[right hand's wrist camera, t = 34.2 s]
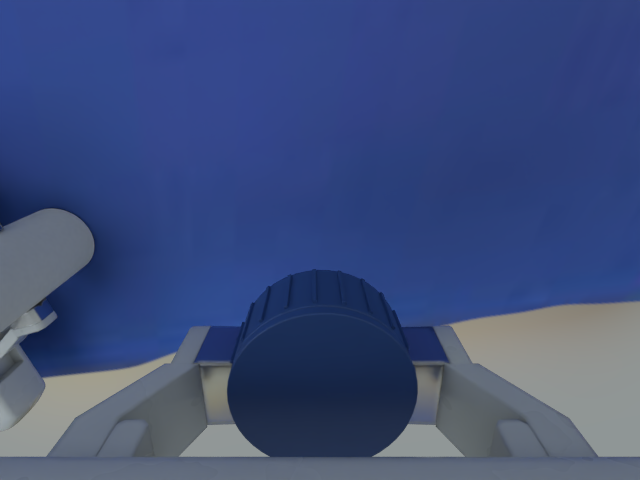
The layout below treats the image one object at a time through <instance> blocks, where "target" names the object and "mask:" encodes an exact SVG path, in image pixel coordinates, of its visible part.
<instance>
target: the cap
mask: <svg viewBox="0 0 640 480" xmlns="http://www.w3.org/2000/svg"><path fill="white" fill-rule="evenodd" d="M409 349H410V347H409V345H408V342H407V340H406V337H405V335H404V332H403V330H402V327H401V325H400V322H399V320H398V317H397V315H396V312H395V310H393V311H392V310H391V308H390V306H389V304H388V303H387V301H386V300H385V298H384V295H383V293H382V292H381V293H379V292H378V291H377V290H376V289H375V288H373V287H372V286H371V285H369V284H368V283H366V282H365V280H364V279H359V278H357V277H354V276H352V275H349V274H346V273H342V272H341V271H338V272H337V271H330V270H316V269H314V270H312V271H306V272H301V273H297V274H294V275H291V274H290V275H288V277H286V278H284V279H282V280H280V281H278V282H276V283H275V284H273V285H272V286H268V287H267V288H266V291H264V292H263V293H262V294H261V295H260V296H259V298H258V299H257V300H256V301H255V303H253V302H252V304H251V306H250V309H249V312H248V315H247V318H246V321H245V322H242V325H241V329H240V332H239V335H238V338H237V341H236V344H235V348H234V351H233V354H232V357H231V360H230V363H231V364H232V367H231V370H230V374H229V378H228V384H227V401H228V405H229V410H230V413H231V415H232V418H233V420H234V422H235V424H236V426H237V427H238V429H239V431H240V432H241V433H242V434H243V436H244V437H245V438H246V439H247V440H248V441H249V442H250V443H251V444H252V445H253V446H255V447H256V448H257V449H259V450H260V451H261V452H263V453H265V454H266V455H268V456H270V457H372V456H374V455H376V454H377V453H379V452H381V451H382V450H384V449H385V448H386V447H388V446H389V445H390V444H391V443H392V442H393V441H395V440H396V439H397V438H398V436H399V435H400V434H401V433H402V432H403V431H404V429H405V428H406V426H407V424H408V423H409V421H410V419H411V417H412V415H413V413H414V409H415V406H416V402H417V395H418V381H417V376H416V369H415V366H413V363H412V360H411V358H410V355H409V353H408V350H409Z"/></svg>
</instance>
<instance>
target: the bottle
mask: <svg viewBox="0 0 640 480" xmlns="http://www.w3.org/2000/svg"><path fill="white" fill-rule="evenodd" d="M3 228H4V229H3V230H1V231H0V333H1V332H2V331H3V330H4V329H6V328H7V327H8V326H9V325H11V324H12V323H13V322H14V321H16V320H17V319H18V318H20V317H21V316H22V315H23V314H25V313H26V312H27V311H28V310H30V309H31V308H32V307H34V306H35V305H36V304H37V303H39V302H40V301H41V300H42V299H44V298H45V297H46V296H47V295H49V294H50V293H51V292H53V291H54V290H55V289H56V288H58V287H59V286H60V285H61V284H63V283H64V282H65V281H67V280H68V279H69V278H70V277H72V276H73V275H74V274H75V273H77V272H78V271H79V270H80V269H82V268H83V267H84V266H85V265H87V264H88V263H89V261H90V260H91V258H92V256H93V253H94V239H93V236H92V233H91V232H90V230H89V228H88V227H87V225H86V224H85V223H84V222H83V221H82V220H81V219H80V218H78V217H77V216H75V215H74V214H72V213H70V212H67V211H64V210H61V209H53V208H50V209H43V210H40V211H37V212H35V213H33V214H31V215H28V216H26V217H24V218H22V219H19V220H17V221H15V222H13V223H10V224H8V225H6V226H4V227H3Z"/></svg>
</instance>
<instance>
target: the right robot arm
mask: <svg viewBox="0 0 640 480" xmlns="http://www.w3.org/2000/svg"><path fill="white" fill-rule="evenodd" d="M240 329H241V327H235V326H193V327H191V328H190V329H189V331H188V333H187V335H186V337H185V339H184V340H183V342H182V344H181V346H180V348H179V349H178V351H177V353H176V355H175V357H174V359H173V361H172V362H171V364H164V365H162V366H160V367H159V368H157V369H156V370H154V371H152V372H151V373H149V374H147V375H146V376H144V377H142V378H141V379H139V380H137V381H136V382H134V383H132V384H131V385H129V386H127V387H126V388H124V389H122V390H121V391H119V392H117V393H116V394H114V395H113V396H111V397H109V398H108V399H106V400H104V401H103V402H101V403H99V404H98V405H96V406H94V407H93V408H91V409H89V410H88V411H86V412H84V413H83V414H81V415H79V416H78V417H76V418H75V419H74V421H73V422H72V423H71V425H70V426H69V427H68V429H67V430H66V431H65V433H64V434H63V435H62V437H61V438H60V439H59V441H58V442H57V443H56V445H55V446H54V447H53V449H52V450H51V451H50V453H49V454H48V455H47V457H0V480H640V457H598V456H597V454H596V453H595V452H594V450H593V449H592V448H591V446H590V445H589V444H588V442H587V441H586V440H585V438H584V437H583V436H582V434H581V433H580V432H579V431H578V429H577V428H576V427H575V425H574V424H573V423H572V421H571V420H570V419H569V418H568V417H566V416H565V415H563V414H561V413H560V412H558V411H556V410H555V409H553V408H551V407H550V406H548V405H546V404H545V403H543V402H541V401H540V400H538V399H536V398H535V397H533V396H531V395H530V394H528V393H526V392H525V391H523V390H521V389H520V388H518V387H516V386H515V385H513V384H511V383H510V382H508V381H506V380H505V379H503V378H501V377H500V376H498V375H496V374H495V373H493V372H491V371H490V370H488V369H486V368H485V367H483V366H481V365H480V364H473V363H472V362H471V360H470V358H469V356H468V355H467V353H466V351H465V349H464V348H463V346H462V344H461V342H460V341H459V339H458V337H457V335H456V333H455V332H454V330H453V328H452V327H451V326H431V327H402V330H403V332H404V335H405V337H406V340H407V342H408V345H409V347H410V349H409V350H408V353H409V355H410V358H411V360H412V363H413V366H415V369H416V376H417V381H418V395H417V402H416V406H415V409H414V413H413V415H412V417H411V419H410V421H409V423H408V424H425V425H436V427H437V428H438V429H439V430H440V431H441V432H442V433H443V434H444V435H445V436H446V437H447V438H448V439H449V440H450V441H451V442H452V444H454V446H455V447H456V448H457V449H458V450H459V451H460V452H461V453H462V454H463V455H464V456H465V457H178V456H179V455H180V454H181V453H182V452H183V451H184V450H185V449H186V448H187V447H188V446H189V445H190V444H191V443H192V442H193V441H194V440H195V439H196V438H197V437H198V436H199V435H200V434H201V433H202V432H203V431H204V430H205V429H206V428H207V425H218V424H235V422H234V420H233V418H232V415H231V413H230V410H229V405H228V401H227V384H228V378H229V374H230V370H231V367H232V364H231V363H230V360H231V357H232V354H233V351H234V348H235V344H236V341H237V338H238V335H239V332H240Z"/></svg>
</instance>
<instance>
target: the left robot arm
mask: <svg viewBox="0 0 640 480" xmlns="http://www.w3.org/2000/svg"><path fill="white" fill-rule="evenodd" d="M3 229H4V228H3V227H2V225H1V223H0V231H1V230H3ZM56 318H57V314H56V313H55V311H54V310H53V308H52V307H51V305H50V303H49V302H48V300H47V299H46V298H44V299H42V300H41V301H40V302H39V303H37V304H36V305H35V306H34V307H32V308H31V309H30V310H28V311H27V312H26V313H25V314H23V315H22V316H21V317H20V318H18V319H17V320H16V321H14V322H13V323H12V324H11V325H9V326H8V327H7V328H6V329H4V330H3V331H2V332H1V333H0V432H1V431H5V430H7V429H10V428H11V427H13V426H14V425H15V424H17V423H18V422H19V421H20V420H21V419H22V418H23V417H24V416H25V415H26V414H27V413H28V412H29V411H30V410H31V409H32V407H33V406H34V405H35V404H36V403H37V401H38V400H39V398H40V397H41V395H42V393H43V391H44V389H45V382H44V380H43V379H42V377H41V376H40V374H39V373H38V372H37V370H36V369H35V367H34V366H33V364H32V363H31V361H30V360H29V358H28V357H27V355H26V354H25V352H24V351H23V349H22V348H21V346H20V345H19V343H20V342H22V341H23V340H24V339H25V338H26V337H27V336H28V334H31V333H34V332H38V331H40V330H42V329H44V328H46V327H47V326H48V325H49V324H51V323H52V322H53V321H54V320H55V319H56Z"/></svg>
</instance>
